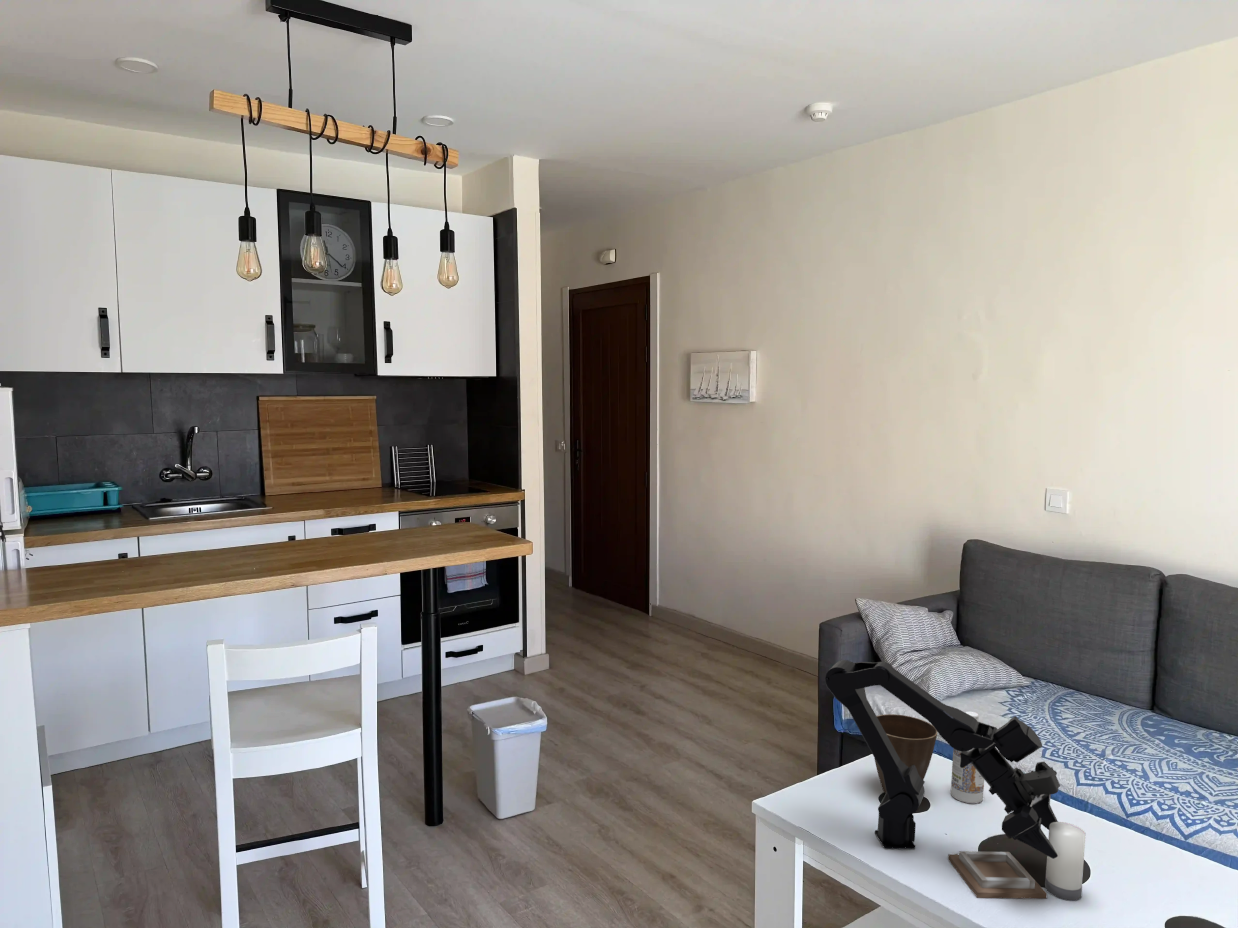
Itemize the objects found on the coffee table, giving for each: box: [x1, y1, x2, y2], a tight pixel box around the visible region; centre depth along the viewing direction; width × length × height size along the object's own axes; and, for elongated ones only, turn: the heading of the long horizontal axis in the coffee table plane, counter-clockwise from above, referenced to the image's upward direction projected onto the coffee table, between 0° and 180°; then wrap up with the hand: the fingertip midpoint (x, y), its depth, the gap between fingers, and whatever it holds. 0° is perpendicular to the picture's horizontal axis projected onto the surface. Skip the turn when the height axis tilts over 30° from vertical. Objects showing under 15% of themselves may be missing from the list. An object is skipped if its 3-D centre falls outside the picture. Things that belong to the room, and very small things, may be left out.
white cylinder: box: [1044, 821, 1086, 902], centre depth 157 cm, size 6×6×12 cm
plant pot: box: [874, 713, 938, 794], centre depth 195 cm, size 15×15×16 cm
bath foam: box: [950, 711, 985, 804], centre depth 193 cm, size 7×7×20 cm
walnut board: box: [947, 850, 1048, 900], centre depth 161 cm, size 13×13×2 cm
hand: (1059, 846), depth 157 cm, fingers open, 9 cm apart
